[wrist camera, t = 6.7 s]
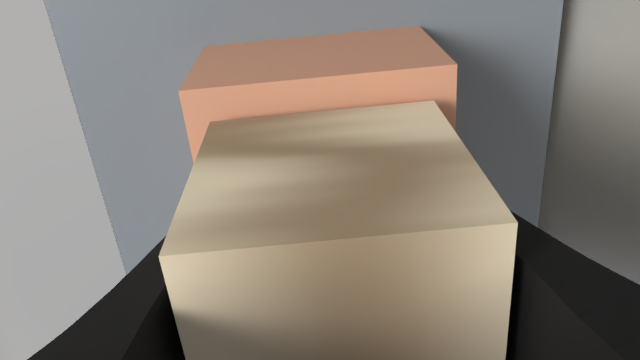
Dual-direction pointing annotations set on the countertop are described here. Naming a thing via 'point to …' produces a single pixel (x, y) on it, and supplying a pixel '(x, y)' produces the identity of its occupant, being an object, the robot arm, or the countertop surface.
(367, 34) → the base block
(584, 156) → the countertop surface
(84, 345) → the robot arm
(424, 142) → the birch block
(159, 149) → the baseplate
